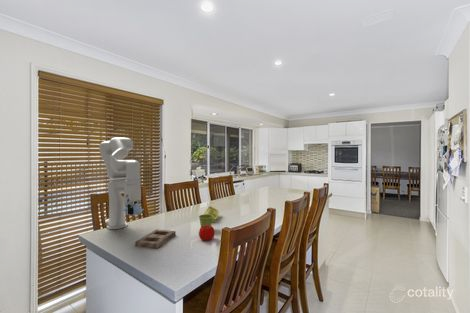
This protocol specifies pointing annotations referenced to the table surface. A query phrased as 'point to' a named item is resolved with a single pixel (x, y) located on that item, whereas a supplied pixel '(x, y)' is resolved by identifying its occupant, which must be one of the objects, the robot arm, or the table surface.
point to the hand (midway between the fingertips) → (133, 213)
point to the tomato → (206, 232)
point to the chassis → (155, 239)
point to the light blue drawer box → (135, 209)
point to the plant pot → (205, 219)
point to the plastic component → (212, 213)
